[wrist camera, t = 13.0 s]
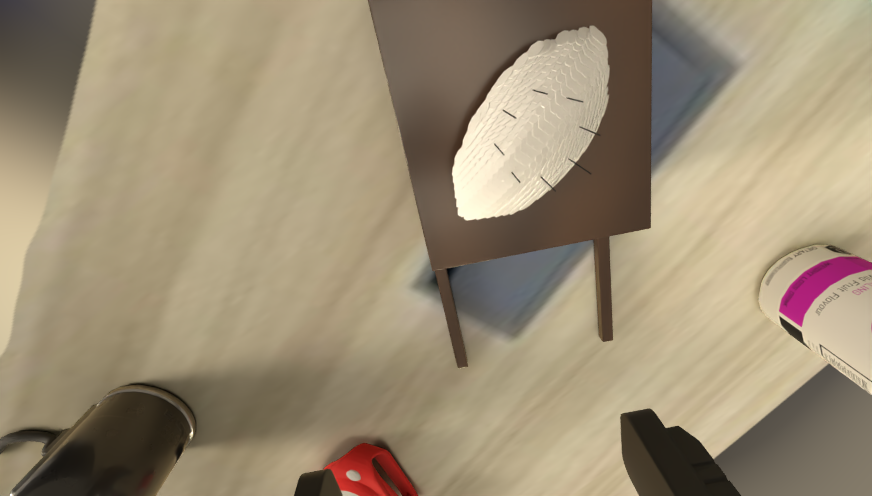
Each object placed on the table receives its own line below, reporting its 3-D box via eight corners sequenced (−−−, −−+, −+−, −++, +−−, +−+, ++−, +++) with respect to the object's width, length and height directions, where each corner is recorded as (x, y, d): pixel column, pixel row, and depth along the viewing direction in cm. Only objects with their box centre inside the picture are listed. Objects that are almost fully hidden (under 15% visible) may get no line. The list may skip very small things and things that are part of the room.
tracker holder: (317, 506, 48) (311, 466, 42) (333, 468, 51) (330, 425, 45) (418, 540, 46) (428, 503, 40) (428, 498, 50) (438, 459, 44)
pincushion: (500, 239, 26) (519, 283, 21) (419, 187, 25) (418, 220, 19) (638, 66, 22) (702, 67, 17) (551, -9, 21) (593, -33, 16)
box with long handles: (457, 362, 41) (472, 496, 28) (371, -6, 28) (327, -60, 16) (609, 334, 40) (694, 460, 28) (592, -59, 27) (739, -163, 15)
